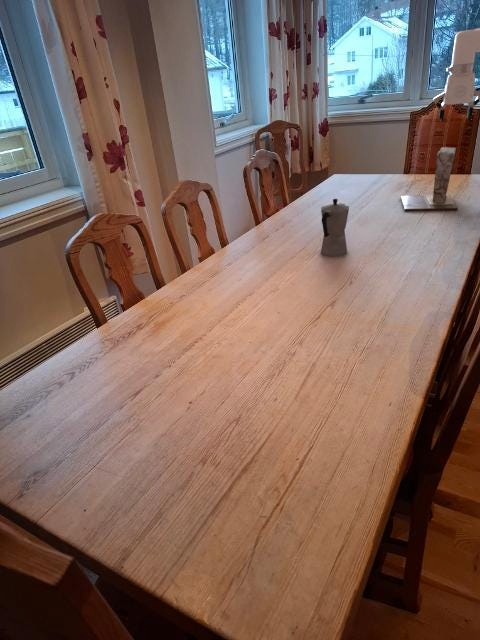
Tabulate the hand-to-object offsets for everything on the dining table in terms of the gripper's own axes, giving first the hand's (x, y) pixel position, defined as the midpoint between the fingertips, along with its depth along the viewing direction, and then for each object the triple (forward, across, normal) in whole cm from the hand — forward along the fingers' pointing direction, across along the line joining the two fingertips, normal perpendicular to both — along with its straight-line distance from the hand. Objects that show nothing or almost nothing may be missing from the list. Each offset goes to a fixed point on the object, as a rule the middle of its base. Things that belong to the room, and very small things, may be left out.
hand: (454, 119), depth 169 cm
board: (+32, -7, -5) cm, 33 cm away
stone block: (+31, -2, -3) cm, 31 cm away
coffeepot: (+31, -45, -60) cm, 81 cm away
